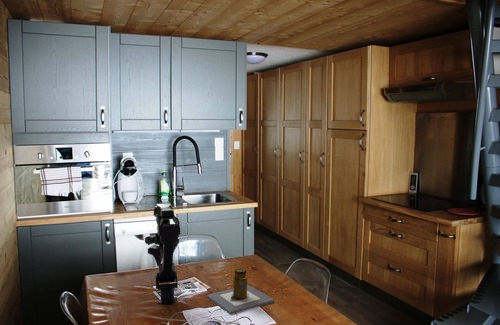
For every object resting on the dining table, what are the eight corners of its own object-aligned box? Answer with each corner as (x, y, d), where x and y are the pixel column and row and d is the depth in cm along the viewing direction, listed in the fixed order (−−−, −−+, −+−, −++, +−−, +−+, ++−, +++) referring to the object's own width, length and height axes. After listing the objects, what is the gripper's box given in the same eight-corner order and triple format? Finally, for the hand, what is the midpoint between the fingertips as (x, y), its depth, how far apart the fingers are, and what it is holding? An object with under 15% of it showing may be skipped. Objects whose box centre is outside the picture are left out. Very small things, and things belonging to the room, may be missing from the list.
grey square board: (230, 314, 167) (230, 311, 167) (206, 297, 184) (206, 294, 184) (273, 301, 179) (273, 299, 179) (248, 286, 196) (248, 284, 196)
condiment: (248, 294, 184) (248, 267, 183) (247, 302, 176) (247, 274, 175) (232, 293, 185) (232, 267, 184) (230, 301, 177) (230, 274, 176)
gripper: (159, 223, 202) (159, 254, 203) (137, 234, 184) (137, 267, 186) (179, 226, 198) (179, 257, 200) (159, 236, 180) (159, 271, 182)
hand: (164, 263), depth 192 cm, fingers open, 9 cm apart
